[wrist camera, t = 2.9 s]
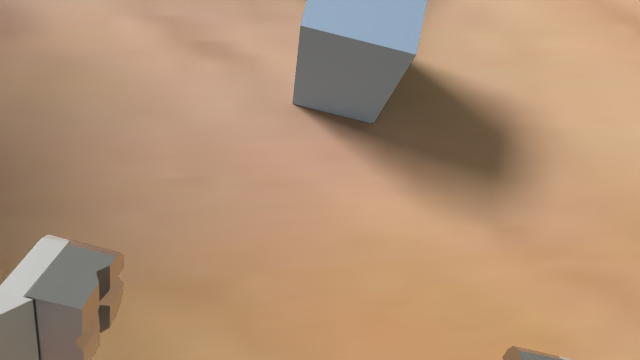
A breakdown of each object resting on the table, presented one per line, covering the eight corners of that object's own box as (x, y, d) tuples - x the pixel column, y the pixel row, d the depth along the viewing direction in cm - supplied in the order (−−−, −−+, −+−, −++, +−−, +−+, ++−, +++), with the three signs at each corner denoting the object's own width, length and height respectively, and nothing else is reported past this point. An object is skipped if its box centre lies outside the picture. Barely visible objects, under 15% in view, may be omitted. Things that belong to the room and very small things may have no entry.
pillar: (373, 123, 29) (416, 54, 20) (292, 103, 29) (300, 25, 20) (389, 48, 30) (437, -49, 21) (311, 29, 30) (326, -78, 21)
